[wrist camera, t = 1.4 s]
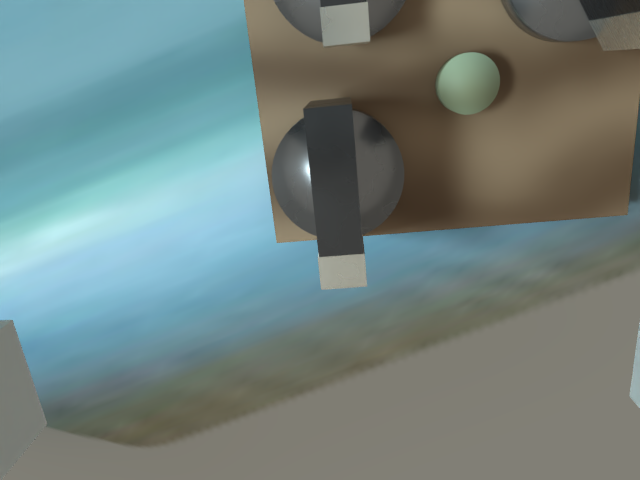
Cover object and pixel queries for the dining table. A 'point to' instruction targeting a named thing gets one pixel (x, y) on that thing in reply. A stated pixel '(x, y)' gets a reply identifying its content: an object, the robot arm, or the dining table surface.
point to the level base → (463, 113)
